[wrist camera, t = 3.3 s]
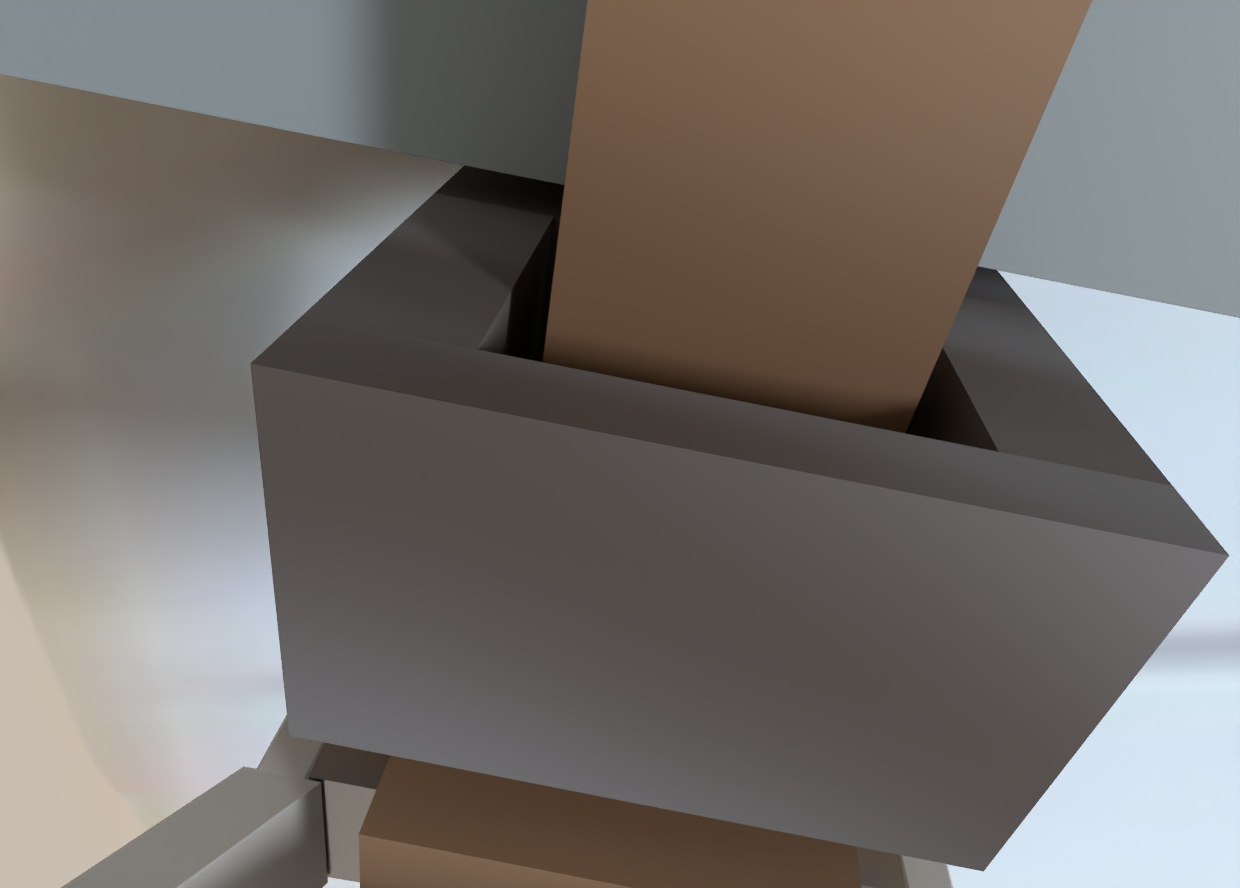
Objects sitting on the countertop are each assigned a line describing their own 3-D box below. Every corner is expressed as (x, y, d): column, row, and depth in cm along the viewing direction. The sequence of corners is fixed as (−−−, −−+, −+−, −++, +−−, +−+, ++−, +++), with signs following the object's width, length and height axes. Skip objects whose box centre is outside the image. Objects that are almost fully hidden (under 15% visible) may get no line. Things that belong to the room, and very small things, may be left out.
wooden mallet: (735, 779, 12) (741, 1120, 8) (466, 726, 12) (365, 1046, 8) (1107, -137, 6) (1667, -233, 2) (555, -248, 6) (316, -501, 2)
